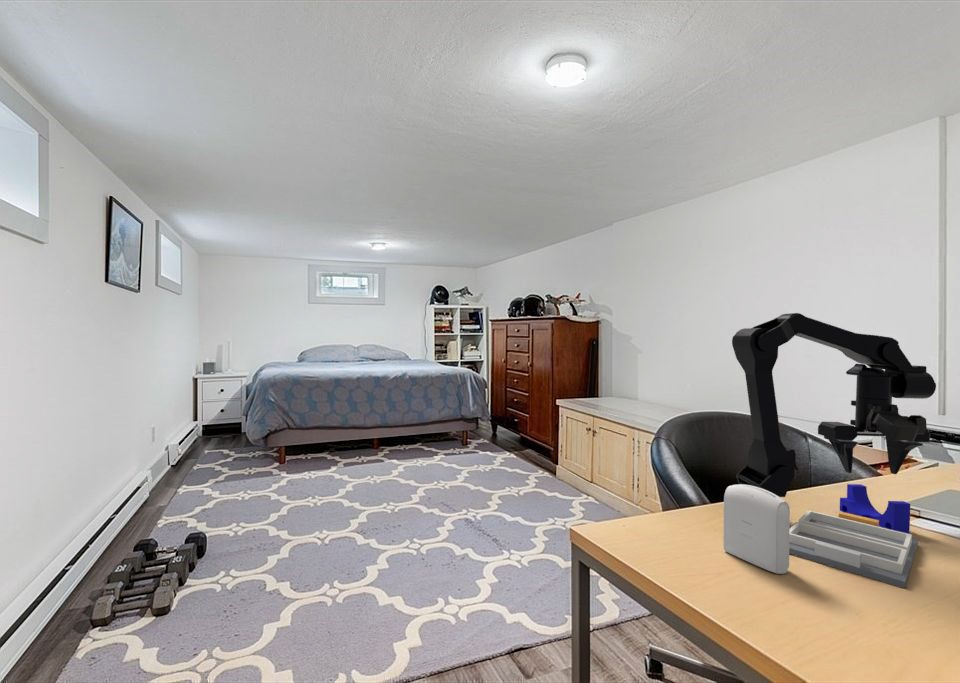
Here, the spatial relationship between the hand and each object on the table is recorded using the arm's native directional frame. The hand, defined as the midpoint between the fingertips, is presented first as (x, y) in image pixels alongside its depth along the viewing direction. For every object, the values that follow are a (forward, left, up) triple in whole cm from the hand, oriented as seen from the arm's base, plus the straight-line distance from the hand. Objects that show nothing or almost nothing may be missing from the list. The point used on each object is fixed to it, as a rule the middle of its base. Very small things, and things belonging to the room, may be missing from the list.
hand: (871, 473), depth 98 cm
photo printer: (-34, -19, -10) cm, 40 cm away
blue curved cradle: (+1, 0, -10) cm, 10 cm away
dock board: (-14, -13, -10) cm, 21 cm away
